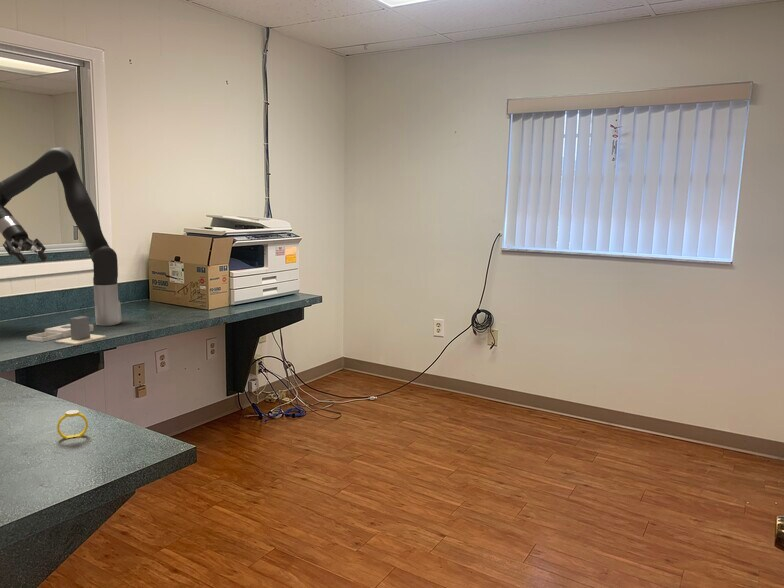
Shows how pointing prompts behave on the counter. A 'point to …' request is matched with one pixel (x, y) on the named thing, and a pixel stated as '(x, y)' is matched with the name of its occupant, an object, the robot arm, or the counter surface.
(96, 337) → the rubber mat
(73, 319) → the plug
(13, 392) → the counter surface
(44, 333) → the power strip
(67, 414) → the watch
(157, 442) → the counter surface
